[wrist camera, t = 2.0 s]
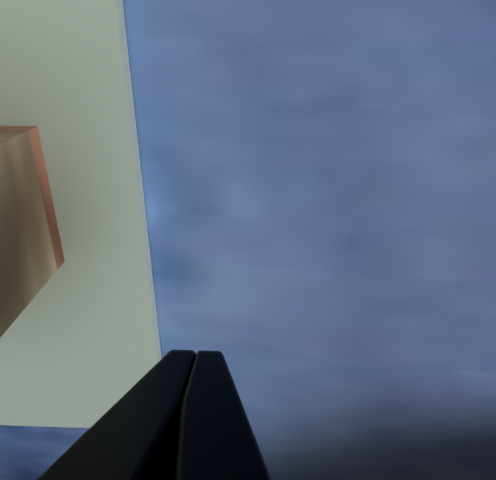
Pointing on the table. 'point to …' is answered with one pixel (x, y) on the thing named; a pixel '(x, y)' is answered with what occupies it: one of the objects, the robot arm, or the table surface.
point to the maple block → (24, 222)
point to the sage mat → (79, 215)
